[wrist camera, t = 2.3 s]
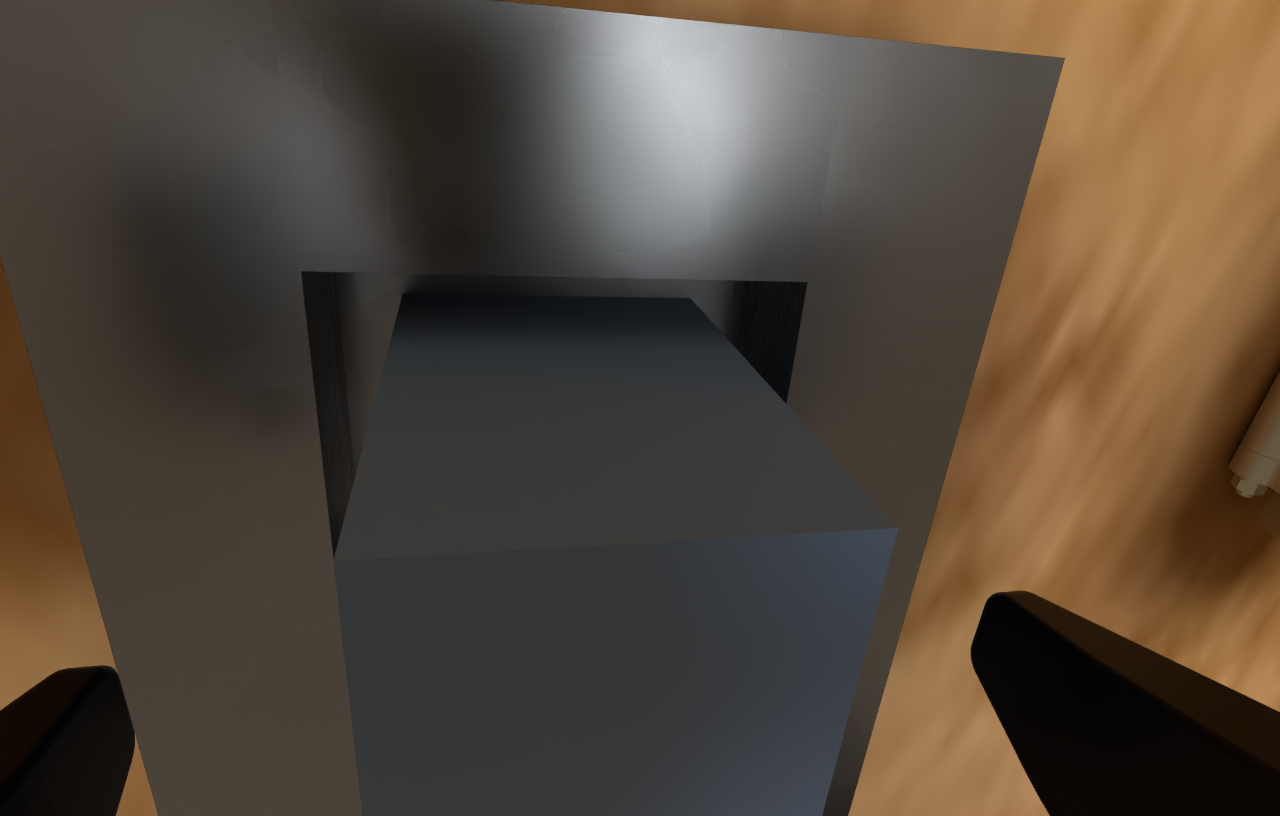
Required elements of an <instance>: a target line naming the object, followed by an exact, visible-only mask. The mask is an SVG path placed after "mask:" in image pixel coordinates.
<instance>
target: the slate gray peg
mask: <svg viewBox="0 0 1280 816" xmlns="http://www.w3.org/2000/svg"><path fill="white" fill-rule="evenodd" d="M897 531H898V527H897V526H896V525H895V524H894V523H893V522H892V521H891V519H890V518H889V517H888V516H887V515H886V514H885V513H884V512H883V511H882V509H881V508H880V507H879V506H878V505H877V504H876V503H875V502H874V501H873V500H872V498H871V497H870V496H869V495H868V494H867V493H866V492H865V491H864V490H863V488H862V487H861V486H860V485H859V484H858V483H857V482H856V481H855V480H854V479H853V477H852V476H851V475H850V474H849V473H848V472H847V471H846V470H845V469H844V467H843V466H842V465H841V464H840V463H839V462H838V461H837V460H836V459H835V457H834V456H833V455H832V454H831V453H830V452H829V451H828V450H827V449H826V448H825V446H824V445H823V444H822V443H821V442H820V441H819V440H818V439H817V438H816V436H815V435H814V434H813V433H812V432H811V431H810V430H809V429H808V428H807V427H806V425H805V424H804V423H803V422H802V421H801V420H800V419H799V418H798V417H797V415H796V414H795V413H794V412H793V411H792V410H791V409H790V408H789V407H788V406H787V404H786V403H785V402H784V401H783V400H782V399H781V398H780V397H779V396H778V394H777V393H776V392H775V391H774V390H773V389H772V388H771V387H770V386H769V384H768V383H767V382H766V381H765V380H764V379H763V378H762V377H761V376H760V375H759V373H758V372H757V371H756V370H755V369H754V368H753V367H752V366H751V365H750V363H749V362H748V361H747V360H746V359H745V358H744V357H743V356H742V355H741V354H740V352H739V351H738V350H737V349H736V348H735V347H734V346H733V345H732V344H731V342H730V341H729V340H728V339H727V338H726V337H725V336H724V335H723V334H722V332H721V331H720V330H719V329H718V328H717V327H716V326H715V325H714V324H713V323H712V321H711V320H710V319H709V318H708V317H707V316H706V315H705V314H704V313H703V311H702V310H701V309H700V308H699V307H698V306H697V305H696V304H695V303H694V302H693V300H692V299H691V298H654V297H591V296H527V295H464V294H402V298H401V302H400V306H399V310H398V314H397V317H396V321H395V325H394V329H393V333H392V337H391V341H390V344H389V348H388V352H387V356H386V360H385V364H384V368H383V371H382V375H381V379H380V383H379V387H378V391H377V395H376V398H375V402H374V406H373V410H372V414H371V418H370V422H369V425H368V429H367V433H366V437H365V441H364V445H363V449H362V452H361V456H360V460H359V464H358V468H357V472H356V476H355V479H354V483H353V487H352V491H351V495H350V499H349V503H348V506H347V510H346V514H345V518H344V522H343V526H342V530H341V533H340V537H339V541H338V545H337V549H336V553H335V557H334V560H333V563H334V572H335V580H336V589H337V598H338V607H339V615H340V624H341V633H342V642H343V650H344V659H345V668H346V677H347V685H348V694H349V703H350V712H351V721H352V729H353V738H354V747H355V756H356V764H357V773H358V782H359V791H360V799H361V808H362V816H822V814H823V810H824V807H825V803H826V799H827V795H828V792H829V788H830V784H831V780H832V777H833V773H834V769H835V765H836V761H837V758H838V754H839V750H840V746H841V743H842V739H843V735H844V731H845V727H846V724H847V720H848V716H849V712H850V709H851V705H852V701H853V697H854V694H855V690H856V686H857V682H858V678H859V675H860V671H861V667H862V663H863V660H864V656H865V652H866V648H867V645H868V641H869V637H870V633H871V629H872V626H873V622H874V618H875V614H876V611H877V607H878V603H879V599H880V595H881V592H882V588H883V584H884V580H885V577H886V573H887V569H888V565H889V562H890V558H891V554H892V550H893V546H894V543H895V539H896V535H897Z"/></svg>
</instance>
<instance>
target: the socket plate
mask: <svg viewBox="0 0 1280 816" xmlns="http://www.w3.org/2000/svg"><path fill="white" fill-rule="evenodd" d="M1064 60H1065V58H1059V57H1049V56H1040V55H1030V54H1020V53H1010V52H1000V51H990V50H980V49H970V48H960V47H950V46H940V45H931V44H921V43H911V42H901V41H891V40H881V39H871V38H861V37H851V36H841V35H831V34H822V33H812V32H802V31H792V30H782V29H772V28H762V27H752V26H742V25H732V24H722V23H713V22H703V21H693V20H683V19H673V18H663V17H653V16H643V15H633V14H623V13H613V12H604V11H594V10H584V9H574V8H564V7H554V6H544V5H534V4H524V3H514V2H504V1H495V0H0V257H1V260H2V264H3V267H4V271H5V274H6V278H7V281H8V285H9V289H10V292H11V296H12V299H13V303H14V306H15V310H16V313H17V317H18V320H19V324H20V327H21V331H22V335H23V338H24V342H25V345H26V349H27V352H28V356H29V359H30V363H31V366H32V370H33V374H34V377H35V381H36V384H37V388H38V391H39V395H40V398H41V402H42V405H43V409H44V412H45V416H46V420H47V423H48V427H49V430H50V434H51V437H52V441H53V444H54V448H55V451H56V455H57V459H58V462H59V466H60V469H61V473H62V476H63V480H64V483H65V487H66V490H67V494H68V497H69V501H70V505H71V508H72V512H73V515H74V519H75V522H76V526H77V529H78V533H79V536H80V540H81V543H82V547H83V551H84V554H85V558H86V561H87V565H88V568H89V572H90V575H91V579H92V582H93V586H94V590H95V593H96V597H97V600H98V604H99V607H100V611H101V614H102V618H103V621H104V625H105V628H106V632H107V636H108V639H109V643H110V646H111V650H112V653H113V657H114V660H115V664H116V667H117V671H118V675H119V678H120V681H121V684H122V688H123V692H124V695H125V699H126V702H127V706H128V709H129V713H130V716H131V720H132V724H133V727H134V731H135V735H136V738H137V742H138V745H139V749H140V752H141V756H142V760H143V763H144V767H145V770H146V774H147V777H148V781H149V784H150V788H151V791H152V795H153V798H154V802H155V806H156V809H157V813H158V816H362V808H361V799H360V791H359V782H358V773H357V764H356V756H355V747H354V738H353V729H352V721H351V712H350V703H349V694H348V685H347V677H346V668H345V659H344V650H343V642H342V633H341V624H340V615H339V607H338V598H337V589H336V580H335V572H334V563H333V560H334V557H335V553H336V549H337V545H338V541H339V537H340V533H341V530H342V526H343V522H344V518H345V514H346V510H347V506H348V503H349V499H350V495H351V491H352V487H353V483H354V479H355V476H356V472H357V468H358V464H359V460H360V456H361V452H362V449H363V445H364V441H365V437H366V433H367V429H368V425H369V422H370V418H371V414H372V410H373V406H374V402H375V398H376V395H377V391H378V387H379V383H380V379H381V375H382V371H383V368H384V364H385V360H386V356H387V352H388V348H389V344H390V341H391V337H392V333H393V329H394V325H395V321H396V317H397V314H398V310H399V306H400V302H401V298H402V294H464V295H527V296H591V297H654V298H691V299H692V300H693V302H694V303H695V304H696V305H697V306H698V307H699V308H700V309H701V310H702V311H703V313H704V314H705V315H706V316H707V317H708V318H709V319H710V320H711V321H712V323H713V324H714V325H715V326H716V327H717V328H718V329H719V330H720V331H721V332H722V334H723V335H724V336H725V337H726V338H727V339H728V340H729V341H730V342H731V344H732V345H733V346H734V347H735V348H736V349H737V350H738V351H739V352H740V354H741V355H742V356H743V357H744V358H745V359H746V360H747V361H748V362H749V363H750V365H751V366H752V367H753V368H754V369H755V370H756V371H757V372H758V373H759V375H760V376H761V377H762V378H763V379H764V380H765V381H766V382H767V383H768V384H769V386H770V387H771V388H772V389H773V390H774V391H775V392H776V393H777V394H778V396H779V397H780V398H781V399H782V400H783V401H784V402H785V403H786V404H787V406H788V407H789V408H790V409H791V410H792V411H793V412H794V413H795V414H796V415H797V417H798V418H799V419H800V420H801V421H802V422H803V423H804V424H805V425H806V427H807V428H808V429H809V430H810V431H811V432H812V433H813V434H814V435H815V436H816V438H817V439H818V440H819V441H820V442H821V443H822V444H823V445H824V446H825V448H826V449H827V450H828V451H829V452H830V453H831V454H832V455H833V456H834V457H835V459H836V460H837V461H838V462H839V463H840V464H841V465H842V466H843V467H844V469H845V470H846V471H847V472H848V473H849V474H850V475H851V476H852V477H853V479H854V480H855V481H856V482H857V483H858V484H859V485H860V486H861V487H862V488H863V490H864V491H865V492H866V493H867V494H868V495H869V496H870V497H871V498H872V500H873V501H874V502H875V503H876V504H877V505H878V506H879V507H880V508H881V509H882V511H883V512H884V513H885V514H886V515H887V516H888V517H889V518H890V519H891V521H892V522H893V523H894V524H895V525H896V526H897V527H898V531H897V535H896V539H895V543H894V546H893V550H892V554H891V558H890V562H889V565H888V569H887V573H886V577H885V580H884V584H883V588H882V592H881V595H880V599H879V603H878V607H877V611H876V614H875V618H874V622H873V626H872V629H871V633H870V637H869V641H868V645H867V648H866V652H865V656H864V660H863V663H862V667H861V671H860V675H859V678H858V682H857V686H856V690H855V694H854V697H853V701H852V705H851V709H850V712H849V716H848V720H847V724H846V727H845V731H844V735H843V739H842V743H841V746H840V750H839V754H838V758H837V761H836V765H835V769H834V773H833V777H832V780H831V784H830V788H829V792H828V795H827V799H826V803H825V807H824V810H823V814H822V816H848V814H849V810H850V807H851V803H852V800H853V796H854V793H855V790H856V786H857V783H858V779H859V776H860V772H861V769H862V765H863V762H864V758H865V755H866V751H867V748H868V744H869V741H870V737H871V734H872V730H873V727H874V723H875V720H876V716H877V713H878V709H879V706H880V702H881V699H882V695H883V692H884V688H885V685H886V681H887V678H888V674H889V671H890V667H891V664H892V660H893V657H894V653H895V650H896V646H897V643H898V639H899V636H900V632H901V629H902V625H903V622H904V618H905V615H906V611H907V608H908V604H909V601H910V597H911V594H912V591H913V587H914V584H915V580H916V577H917V573H918V570H919V566H920V563H921V559H922V556H923V552H924V549H925V545H926V542H927V538H928V535H929V531H930V528H931V524H932V521H933V517H934V514H935V510H936V507H937V503H938V500H939V496H940V493H941V489H942V486H943V482H944V479H945V475H946V472H947V468H948V465H949V461H950V458H951V454H952V451H953V447H954V444H955V440H956V437H957V433H958V430H959V426H960V423H961V419H962V416H963V412H964V409H965V405H966V402H967V399H968V395H969V392H970V388H971V385H972V381H973V378H974V374H975V371H976V367H977V364H978V360H979V357H980V353H981V350H982V346H983V343H984V339H985V336H986V332H987V329H988V325H989V322H990V318H991V315H992V311H993V308H994V304H995V301H996V297H997V294H998V290H999V287H1000V283H1001V280H1002V276H1003V273H1004V269H1005V266H1006V262H1007V259H1008V255H1009V252H1010V248H1011V245H1012V241H1013V238H1014V234H1015V231H1016V227H1017V224H1018V220H1019V217H1020V213H1021V210H1022V207H1023V203H1024V200H1025V196H1026V193H1027V189H1028V186H1029V182H1030V179H1031V175H1032V172H1033V168H1034V165H1035V161H1036V158H1037V154H1038V151H1039V147H1040V144H1041V140H1042V137H1043V133H1044V130H1045V126H1046V123H1047V119H1048V116H1049V112H1050V109H1051V105H1052V102H1053V98H1054V95H1055V91H1056V88H1057V84H1058V81H1059V77H1060V74H1061V70H1062V67H1063V63H1064Z"/></svg>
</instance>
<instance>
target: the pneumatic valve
mask: <svg viewBox="0 0 1280 816" xmlns="http://www.w3.org/2000/svg"><path fill="white" fill-rule="evenodd" d="M1229 468H1230V469H1231V470H1232V471H1233V472H1234V473H1235V475H1234V477H1233V479H1232V480H1231V484H1232V485H1233V486H1234V487H1235V488H1236V492H1237V494H1239V495H1241V496H1243V497H1247V498H1251V497H1253V496H1254V495H1255V496H1262V495H1264V494H1265V492H1266V490H1267V489H1268V487H1270V488H1272V489H1273V490H1275V492H1274V494H1273V496H1272V498H1271V499H1270V501H1269V503H1268V505H1267V506H1266V508H1265V510H1264V511H1263V517H1264V520H1265V523H1266V525H1267V527H1268V529H1269V530H1270V531H1271V533H1272V534H1274V535H1275V536H1276V537H1277V538H1278V539H1280V372H1279V374H1278V375H1277V377H1276V379H1275V381H1274V383H1273V385H1272V386H1271V388H1270V390H1269V392H1268V394H1267V396H1266V398H1265V399H1264V401H1263V403H1262V405H1261V407H1260V409H1259V410H1258V412H1257V414H1256V416H1255V418H1254V420H1253V421H1252V423H1251V425H1250V427H1249V429H1248V431H1247V433H1246V434H1245V436H1244V438H1243V440H1242V442H1241V444H1240V445H1239V447H1238V449H1237V451H1236V453H1235V455H1234V456H1233V458H1232V460H1231V462H1230V464H1229Z"/></svg>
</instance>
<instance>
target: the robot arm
mask: <svg viewBox="0 0 1280 816" xmlns="http://www.w3.org/2000/svg"><path fill="white" fill-rule="evenodd" d="M971 661H972V664H973V668H974V670H975V672H976V674H977V676H978V678H979V680H980V682H981V684H982V686H983V688H984V690H985V692H986V694H987V696H988V698H989V700H990V702H991V704H992V706H993V708H994V710H995V712H996V714H997V716H998V718H999V720H1000V722H1001V724H1002V726H1003V728H1004V730H1005V732H1006V734H1007V736H1008V738H1009V740H1010V742H1011V744H1012V746H1013V748H1014V750H1015V752H1016V754H1017V756H1018V758H1019V760H1020V762H1021V764H1022V766H1023V768H1024V770H1025V772H1026V774H1027V776H1028V778H1029V780H1030V781H1031V783H1032V785H1033V787H1034V789H1035V791H1036V793H1037V795H1038V796H1039V798H1040V800H1041V801H1042V803H1043V805H1044V807H1045V808H1046V810H1047V812H1048V813H1049V815H1050V816H1280V712H1278V711H1276V710H1274V709H1272V708H1270V707H1268V706H1266V705H1264V704H1262V703H1260V702H1257V701H1255V700H1253V699H1251V698H1249V697H1247V696H1245V695H1243V694H1241V693H1239V692H1237V691H1235V690H1233V689H1230V688H1228V687H1226V686H1224V685H1222V684H1220V683H1218V682H1216V681H1214V680H1212V679H1210V678H1208V677H1206V676H1203V675H1201V674H1199V673H1197V672H1195V671H1193V670H1191V669H1189V668H1187V667H1185V666H1183V665H1181V664H1179V663H1176V662H1174V661H1172V660H1170V659H1168V658H1166V657H1164V656H1162V655H1160V654H1158V653H1156V652H1154V651H1152V650H1149V649H1147V648H1145V647H1143V646H1141V645H1139V644H1137V643H1135V642H1133V641H1131V640H1129V639H1127V638H1125V637H1122V636H1120V635H1118V634H1116V633H1114V632H1112V631H1110V630H1108V629H1106V628H1104V627H1102V626H1100V625H1098V624H1095V623H1093V622H1091V621H1089V620H1087V619H1085V618H1083V617H1081V616H1079V615H1077V614H1075V613H1073V612H1070V611H1068V610H1066V609H1064V608H1062V607H1060V606H1058V605H1056V604H1054V603H1052V602H1050V601H1048V600H1046V599H1043V598H1041V597H1039V596H1037V595H1035V594H1033V593H1031V592H1027V591H1011V592H999V593H995V594H993V595H991V596H990V597H989V599H988V600H987V601H986V604H985V606H984V609H983V612H982V615H981V618H980V621H979V624H978V627H977V630H976V633H975V636H974V639H973V642H972V645H971ZM134 747H135V732H134V727H133V724H132V720H131V716H130V713H129V709H128V706H127V702H126V699H125V695H124V692H123V688H122V684H121V681H120V678H119V676H118V673H117V672H116V671H115V669H114V668H112V667H109V666H104V665H102V666H89V667H77V668H67V669H62V670H59V671H57V672H55V673H53V674H51V675H50V676H48V677H47V678H45V679H44V680H42V681H41V682H40V683H38V684H37V685H35V686H34V687H32V688H31V689H30V690H28V691H27V692H25V693H24V694H23V695H21V696H20V697H18V698H17V699H16V700H14V701H13V702H11V703H10V704H9V705H7V706H6V707H4V708H3V709H2V710H0V816H116V813H117V809H118V806H119V803H120V799H121V796H122V793H123V789H124V786H125V782H126V779H127V776H128V772H129V769H130V765H131V762H132V758H133V754H134Z"/></svg>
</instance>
